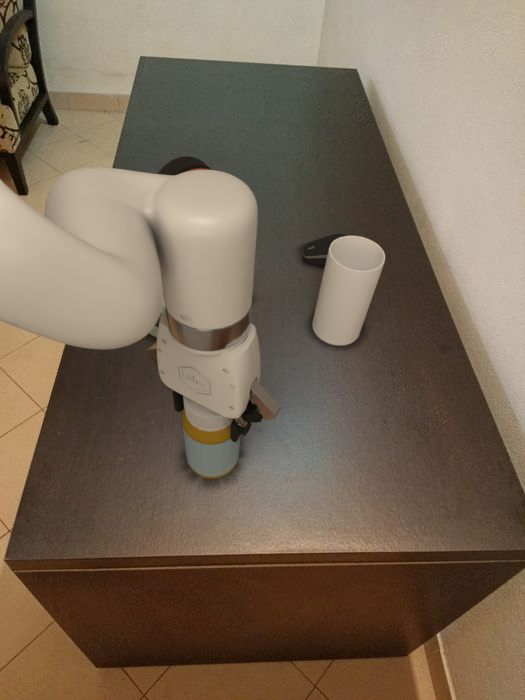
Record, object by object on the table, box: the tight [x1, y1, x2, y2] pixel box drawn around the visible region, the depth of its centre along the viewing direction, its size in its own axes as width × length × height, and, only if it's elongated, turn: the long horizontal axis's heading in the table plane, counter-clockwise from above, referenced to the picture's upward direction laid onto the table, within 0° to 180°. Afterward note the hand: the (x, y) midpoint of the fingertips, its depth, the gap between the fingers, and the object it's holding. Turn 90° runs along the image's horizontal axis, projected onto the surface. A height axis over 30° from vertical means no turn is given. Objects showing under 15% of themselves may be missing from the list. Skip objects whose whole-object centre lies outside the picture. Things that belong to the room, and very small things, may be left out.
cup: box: [311, 235, 386, 346], centre depth 74 cm, size 8×8×16 cm
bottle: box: [181, 396, 241, 480], centre depth 57 cm, size 7×7×15 cm
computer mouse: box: [301, 233, 350, 267], centre depth 90 cm, size 7×12×4 cm, turn 91°
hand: (211, 416), depth 55 cm, fingers closed on bottle, 7 cm apart
